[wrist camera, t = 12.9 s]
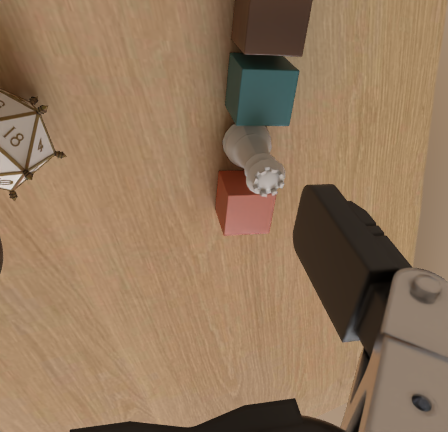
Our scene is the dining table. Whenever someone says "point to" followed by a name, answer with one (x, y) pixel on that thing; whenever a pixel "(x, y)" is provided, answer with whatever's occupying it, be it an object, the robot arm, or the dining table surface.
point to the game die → (22, 141)
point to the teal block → (260, 89)
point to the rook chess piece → (254, 158)
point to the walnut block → (271, 26)
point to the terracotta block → (242, 206)
